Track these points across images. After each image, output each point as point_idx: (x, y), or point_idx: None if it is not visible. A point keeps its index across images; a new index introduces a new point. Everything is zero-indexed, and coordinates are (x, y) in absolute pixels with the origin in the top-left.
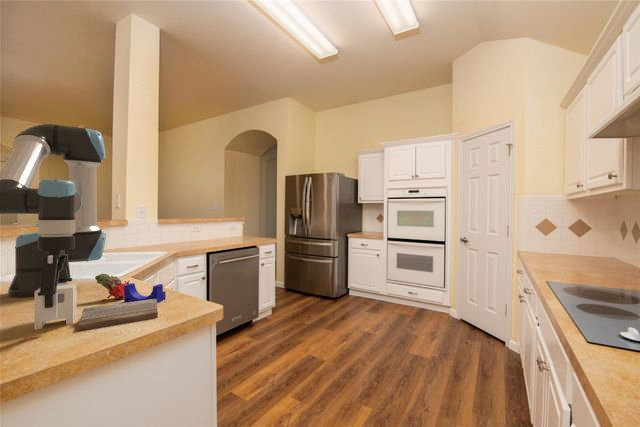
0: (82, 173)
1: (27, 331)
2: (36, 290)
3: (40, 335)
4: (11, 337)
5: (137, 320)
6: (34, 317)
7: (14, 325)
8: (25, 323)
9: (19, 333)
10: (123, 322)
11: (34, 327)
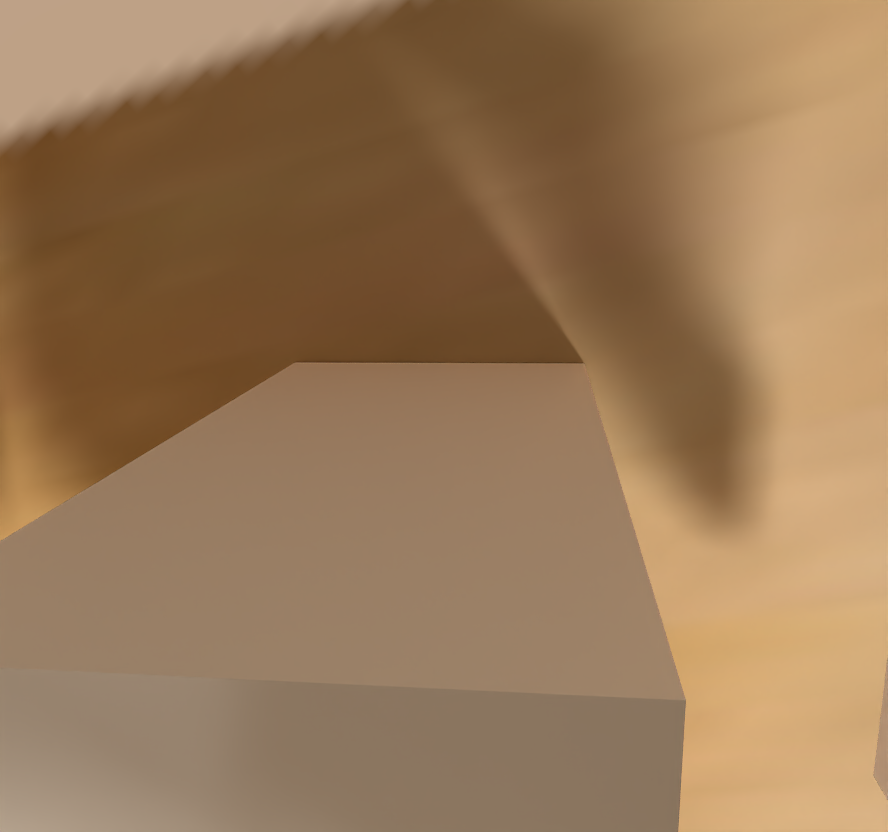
0: None
1: (261, 295)
2: (32, 675)
3: (20, 484)
4: (94, 170)
5: None
6: (227, 403)
7: (702, 7)
8: (718, 148)
9: (221, 218)
10: None
11: (284, 369)
